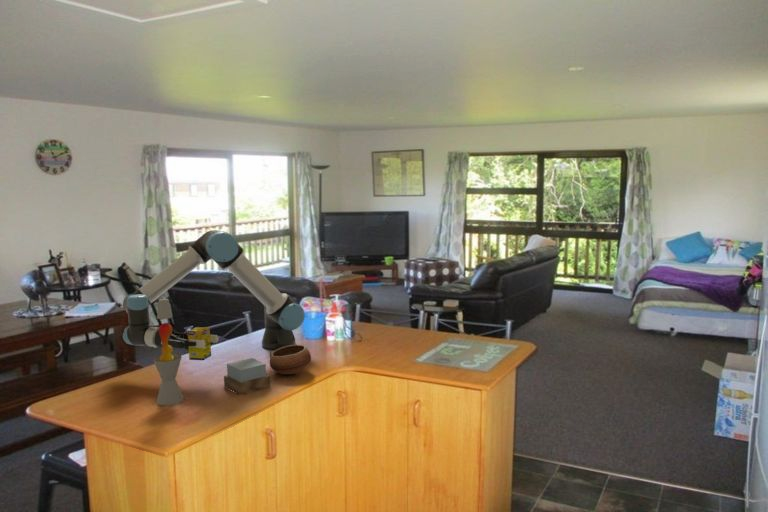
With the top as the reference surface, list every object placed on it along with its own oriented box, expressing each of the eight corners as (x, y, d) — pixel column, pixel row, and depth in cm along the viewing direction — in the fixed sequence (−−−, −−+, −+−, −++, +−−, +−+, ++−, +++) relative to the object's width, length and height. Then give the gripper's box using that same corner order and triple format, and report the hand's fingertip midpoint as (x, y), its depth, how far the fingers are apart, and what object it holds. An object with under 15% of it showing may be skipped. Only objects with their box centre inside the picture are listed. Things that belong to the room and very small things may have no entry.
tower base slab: (254, 380, 221) (253, 368, 220) (270, 388, 212) (270, 376, 211) (224, 387, 213) (223, 375, 212) (240, 396, 204) (239, 383, 203)
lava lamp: (183, 403, 197) (177, 300, 193) (154, 406, 194) (147, 302, 190) (184, 394, 205) (178, 295, 201) (157, 397, 203) (150, 297, 199)
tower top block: (252, 369, 218) (251, 358, 218) (266, 376, 211) (265, 363, 210) (227, 375, 212) (226, 363, 211) (240, 382, 204) (240, 370, 204)
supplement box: (204, 360, 213) (201, 331, 212) (188, 360, 214) (186, 330, 213) (212, 355, 219) (210, 327, 217) (197, 355, 220) (195, 326, 219)
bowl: (266, 370, 231) (265, 345, 230) (305, 364, 238) (304, 340, 236) (275, 381, 217) (274, 355, 216) (316, 375, 223) (315, 350, 222)
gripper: (178, 340, 232) (227, 344, 223) (142, 354, 214) (194, 359, 205) (177, 321, 231) (226, 325, 222) (140, 334, 213) (192, 338, 204)
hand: (210, 341), depth 214 cm, fingers closed on supplement box, 6 cm apart
